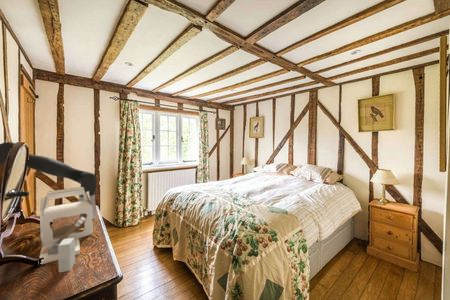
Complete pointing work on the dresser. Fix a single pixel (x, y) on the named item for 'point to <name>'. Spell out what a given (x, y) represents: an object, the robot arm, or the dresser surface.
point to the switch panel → (55, 256)
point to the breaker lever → (72, 229)
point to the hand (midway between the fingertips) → (28, 193)
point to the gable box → (65, 215)
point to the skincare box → (66, 254)
